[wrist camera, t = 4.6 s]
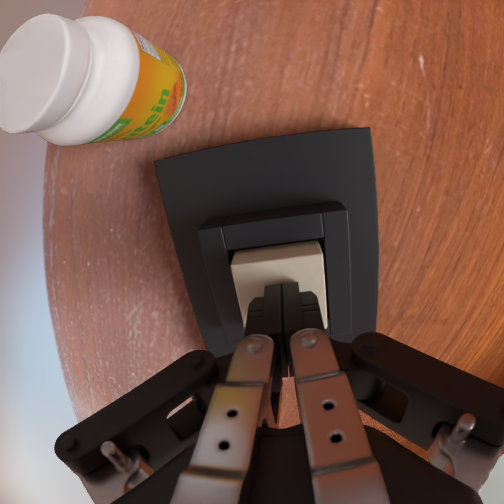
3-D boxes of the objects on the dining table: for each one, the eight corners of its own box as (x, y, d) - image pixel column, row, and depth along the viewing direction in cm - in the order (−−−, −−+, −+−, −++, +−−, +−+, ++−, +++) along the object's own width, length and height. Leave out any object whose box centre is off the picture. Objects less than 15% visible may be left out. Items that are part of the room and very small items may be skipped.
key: (234, 250, 14) (229, 265, 13) (317, 239, 14) (323, 253, 12) (249, 318, 16) (246, 338, 14) (323, 309, 15) (327, 328, 14)
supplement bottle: (141, 157, 16) (19, 193, 7) (91, 101, 14) (-34, 100, 5) (208, 90, 14) (123, 40, 5) (150, 36, 13) (45, -26, 4)
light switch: (164, 158, 16) (139, 165, 12) (360, 127, 14) (382, 126, 11) (217, 354, 21) (209, 389, 17) (368, 337, 19) (380, 370, 16)
